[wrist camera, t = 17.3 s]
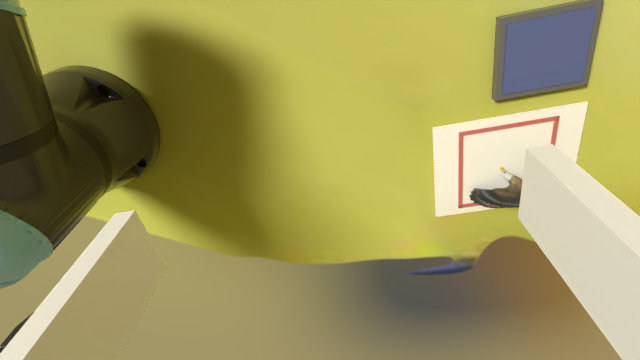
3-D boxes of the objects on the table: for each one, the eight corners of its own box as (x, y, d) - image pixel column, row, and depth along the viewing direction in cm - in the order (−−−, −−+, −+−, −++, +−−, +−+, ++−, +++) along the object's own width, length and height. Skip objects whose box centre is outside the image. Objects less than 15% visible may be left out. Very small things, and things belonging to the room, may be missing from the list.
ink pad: (491, 98, 43) (495, 101, 42) (496, 17, 38) (501, 18, 37) (581, 82, 41) (588, 85, 40) (597, -4, 37) (605, -3, 36)
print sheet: (435, 215, 52) (436, 217, 52) (432, 127, 45) (433, 129, 44) (567, 196, 50) (569, 198, 50) (586, 101, 43) (589, 102, 42)
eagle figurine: (526, 139, 44) (463, 181, 45) (573, 182, 40) (502, 226, 41) (522, 165, 50) (466, 201, 51) (562, 204, 46) (501, 242, 48)
